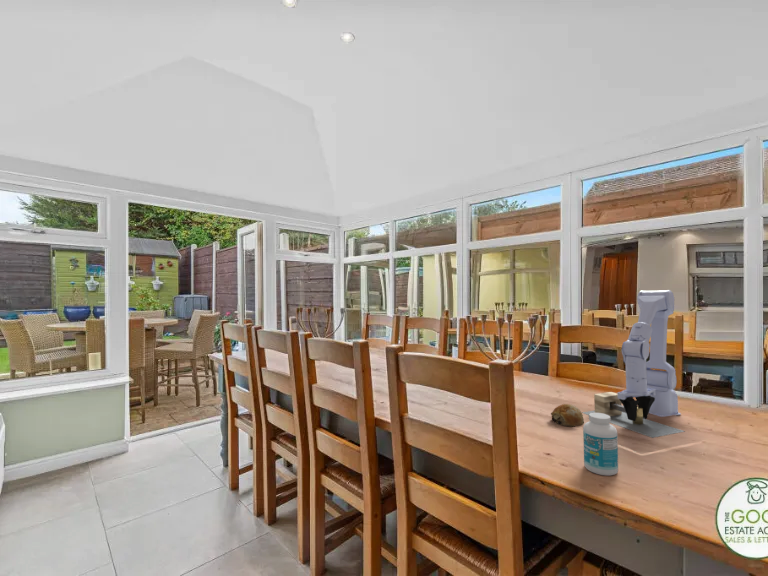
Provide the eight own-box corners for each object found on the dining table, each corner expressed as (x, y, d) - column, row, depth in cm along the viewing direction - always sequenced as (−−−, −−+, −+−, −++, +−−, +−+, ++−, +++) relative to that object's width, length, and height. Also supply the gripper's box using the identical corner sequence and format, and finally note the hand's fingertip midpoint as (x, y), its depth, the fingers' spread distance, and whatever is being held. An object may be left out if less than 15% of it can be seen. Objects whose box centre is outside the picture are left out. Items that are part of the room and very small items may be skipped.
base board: (610, 409, 142) (610, 407, 142) (685, 433, 117) (685, 431, 117) (581, 414, 137) (581, 412, 137) (652, 439, 113) (652, 437, 113)
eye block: (611, 411, 138) (611, 391, 138) (621, 414, 134) (621, 394, 134) (594, 413, 135) (594, 394, 136) (604, 417, 132) (603, 396, 132)
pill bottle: (577, 464, 98) (576, 411, 98) (605, 462, 99) (603, 410, 99) (596, 478, 91) (594, 420, 91) (625, 476, 91) (624, 419, 91)
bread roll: (582, 439, 124) (593, 417, 123) (552, 424, 125) (562, 402, 125) (574, 428, 133) (584, 408, 133) (545, 415, 135) (555, 394, 135)
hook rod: (601, 409, 139) (601, 395, 139) (645, 423, 124) (644, 408, 124) (595, 410, 138) (595, 396, 138) (638, 424, 123) (638, 409, 123)
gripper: (631, 382, 119) (632, 425, 118) (664, 377, 123) (665, 419, 123) (611, 377, 125) (612, 418, 125) (643, 373, 130) (644, 413, 130)
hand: (637, 419), depth 124 cm, fingers open, 5 cm apart
